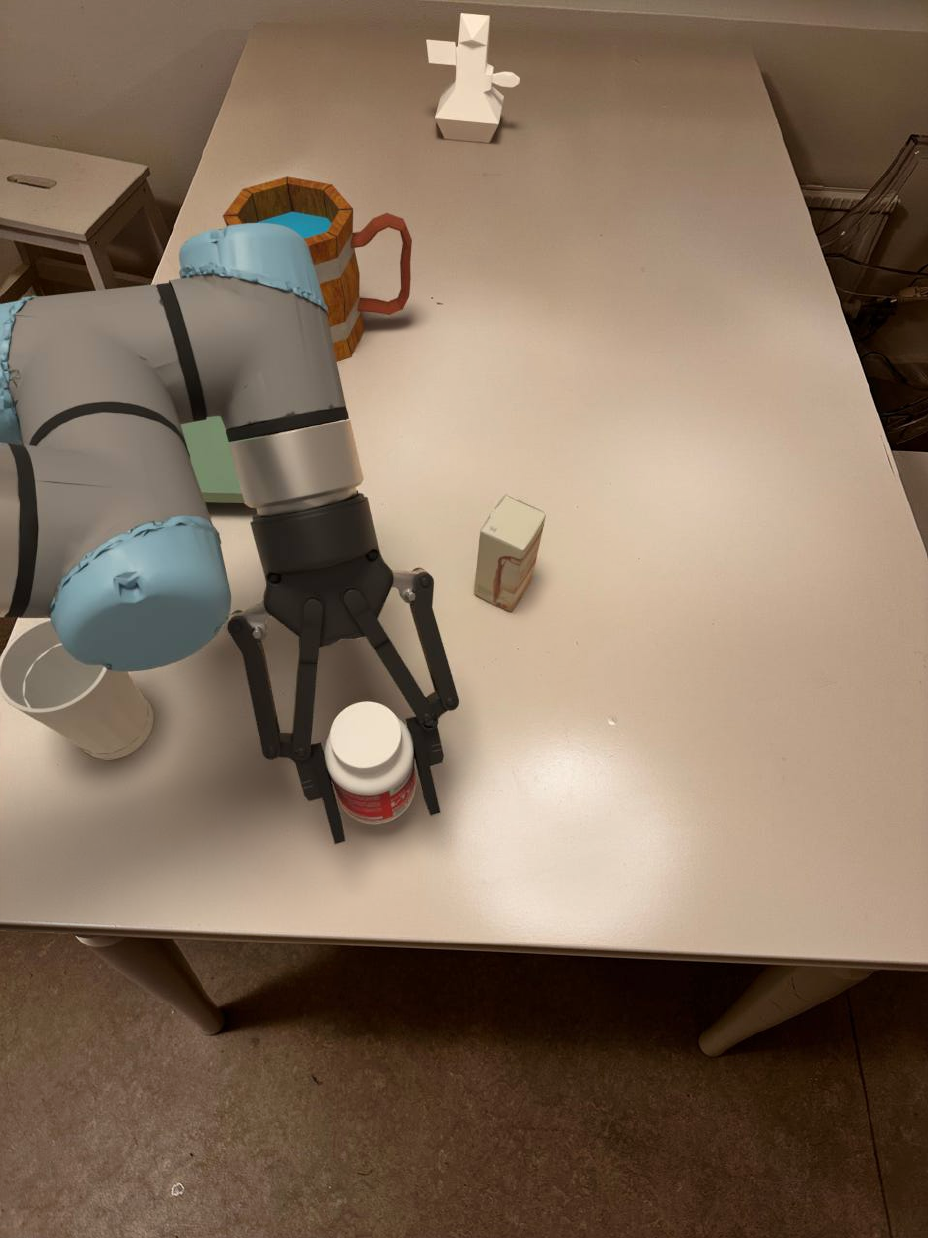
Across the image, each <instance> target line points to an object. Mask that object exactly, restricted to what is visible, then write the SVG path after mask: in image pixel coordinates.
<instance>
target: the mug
mask: <svg viewBox="0 0 928 1238" xmlns="http://www.w3.org/2000/svg"><path fill="white" fill-rule="evenodd" d="M222 219H223V220H224V222H225V225H226V227H227V226H231V225H237V224H246V223H270V224H277V225H282V226H285V227H288V228H290V229H292V230H294V231H295V232H297V233H298V234H299V235H300V236H301V237H302V238H303V239H304V241H305V242H306V243H307V245H308V248H309V250H310V254H311V257H312V261H313V264H314V267H315V271H316V274H317V278H318V281H319V285H320V288H321V292H322V295H323V299H324V302H325V304H326V305H327V307H328V314H327V317H328V322H329V327H330V331H331V336H332V341H333V346H334V351H335V356H336V361H337V362H340V361H343V360H345V359H348V358H351V357H352V356H353V355H354V353H355V350H356V349H357V346H358V345H359V343H360V340H361V338H362V336H363V334H364V333H365V331H366V326H365V321H364V317H363V313H372V314H373V313H374V314H382V315H388V316H391V315H393V314H396V313H398V312H400V311H402V310H404V307H405V306H406V304H407V302H408V300H409V298H410V294H411V279H412V277H411V276H412V275H411V259H412V258H411V257H412V245H413V239H412V236H411V234H410V231H409V229H408V226H407V223H406V222H405V220H404V218H403V217H401V216H398V215H394V214H392V213H390V212H389V213H388V212H384V213H383V214H380V215H377V216H375V217H373V218H372V219H371V220H370V221H369V222H368V223H367V224H366V225H365V226H364V228H362V229H361V230H360V231H355V232H354V207H352V206H351V204H350V203H349V202H348V201H347V200H346V199H345V197H344V196H343V195H342V194H341V193H340V191H339V190H338V189H337V188H336V186H334V185H333V184H332V183H328V182H327V183H326V182H322V181H315V180H310V179H304V178H300V177H299V178H298V177H293V176H288V175H287V176H283V177H279V178H277V179H273V180H269V181H266V182H262V183H258V184H255V185H251V186H248V187H244V188H242V189H241V191H240V192H239V193H238V194H237V196H236V197H235V198H234V200H233V201H232V202H231V204H230V205H229V206H228V208H227V209H226V211H225V212H224V213H223V215H222ZM388 228H390V229H392V230H395V231H398V232H399V234H400V238H401V241H402V242H401V243H402V244H401V253H400V261H399V272H400V289H399V292H398V295H397V297H396V298H393V299H391V300H389V301H388V300H387V301H386V300H382V299H379V298H373V297H372V298H371V297H361V296H360V278H361V277H360V274H361V273H360V267H359V264H358V258H357V255H356V249H357V248H364V247H365V246H367V245H368V244H370V243H371V241H373V239H374V238H375V237H376V236H377V235H378V233H380V232H382V231H384V230H386V229H388ZM362 312H363V313H362Z"/></svg>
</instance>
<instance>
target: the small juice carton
mask: <svg viewBox="0 0 928 1238" xmlns="http://www.w3.org/2000/svg"><path fill="white" fill-rule="evenodd" d="M546 518H547V512H546V511H544V510H543V509H540V508H539V507H536V506H535V505H532V504H530V503H528V502H526V501H523V500H522V499H520V498H517V497H515V496H513V495H511V494H508V493H504V494H503V496H502V497H501V498H500V499H499V501H498V502H497V504H496V505H495V506H494V508H493V510H492V511H491V512H490V513H489V515H488V517H487V518H486V520H485V522H484V523H483V525H482V527H481V528H480V530H479V539H478V549H477V559H476V568H475V576H474V577H475V578H474V586H473V587H474V588H473V589H474V590H473V594H474V595H475V596H477V597H479V598H481V599H483V600H485V601H487V602H489V603H490V604H492V605H495V606H496V607H498V608H501V609H503V610H505V611H508V612H512V611H514V609H515V607H516V606H517V605H518V603H519V601H520V600H521V598H522V597H523V595H524V593H525V592H526V589H527V588H528V586H529V585H530V583H531V581H532V579H533V577H534V576H533V575H534V572H535V568H536V567H535V566H536V563H537V558H538V553H539V548H540V545H541V540H542V536H543V530H544V526H545V522H546Z"/></svg>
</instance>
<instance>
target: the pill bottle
mask: <svg viewBox="0 0 928 1238" xmlns="http://www.w3.org/2000/svg"><path fill="white" fill-rule="evenodd" d="M324 755H325V762H326V767H327V770H328V773H329V776H330V778H331V781H332V785H333V789H334V793H335V796H336V799H337V801H338V802H339V804H340V806H341V808H342V809H343V810H344V812H345V813H346V815H348V816H350V817H351V818H352V819H354V820H356V821H358V822H359V823H363V824H368V825H382V824H386V823H389V822H391V821H393V820H395V819H398V817H400V816H401V815H402V814H403V813H404V812H406V810H407V809H408V808H409V806H410V805H411V803H412V801H413V799H414V796H415V792H416V787H417V786H416V783H417V775H416V763H415V759H414V747H413V740H412V737H411V734H410V732H409V730H408V728H407V724H405V723H404V721H402V720H401V719H400V718H399V717H398V716H397V715H396V714H395V713H394V712H393V711H392V709H390V708H389V707H387V706H386V705H384V704H381V703H379V702H376V701H360V702H355V703H352V704H351V705H349V706H346V707H345V708H343V710H341V711H340V712H339V713H338V715H337V716H336V717H335V719H334V720H333V721H332V724H331V727H330V730H329V734H328V736H327V739H326V741H325V745H324Z"/></svg>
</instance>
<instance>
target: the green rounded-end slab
mask: <svg viewBox="0 0 928 1238" xmlns="http://www.w3.org/2000/svg"><path fill="white" fill-rule="evenodd" d="M180 425H181V428H182V431H183V434H184V438H185V441H186V444H187V448H188V451H189V454H190V460H191V464H192V466H193V469H194V472H195V475H196V478H197V481H198V484H199V487H200V489H201V492H202V495H203V498H204V501H205V503H229V504H230V503H233V504H234V503H235V504H245V502H244V499H243V495H242V492H241V488H240V484H239V481H238V477H237V473H236V470H235V466H234V462H233V459H232V455H231V452H230V448H229V444H231V443H235V442H240V441H245V440H250V439H255V438H260V437H255V438H250V439H244V440H239V441H233V442H228V439H227V435H226V428H225V426H224V423H223V421H222V418H221V416H212V417H207V419H206V420H202V421H196V422H191V423H186V424H180ZM266 436H269V435H266ZM261 437H265V436H261Z"/></svg>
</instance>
